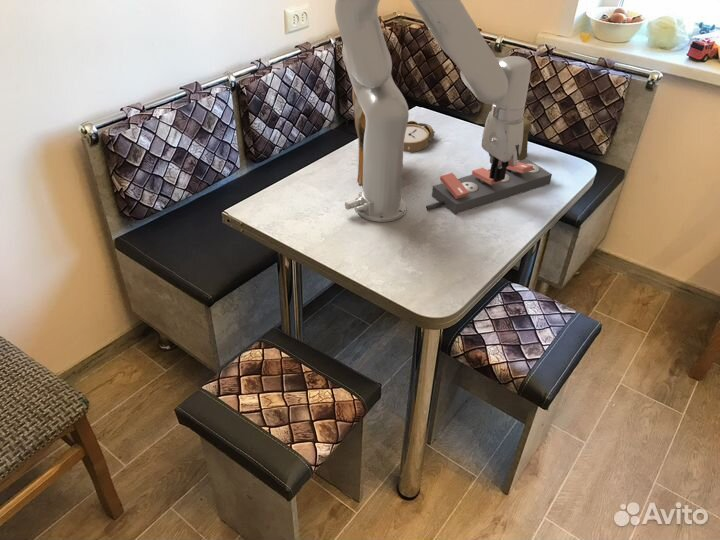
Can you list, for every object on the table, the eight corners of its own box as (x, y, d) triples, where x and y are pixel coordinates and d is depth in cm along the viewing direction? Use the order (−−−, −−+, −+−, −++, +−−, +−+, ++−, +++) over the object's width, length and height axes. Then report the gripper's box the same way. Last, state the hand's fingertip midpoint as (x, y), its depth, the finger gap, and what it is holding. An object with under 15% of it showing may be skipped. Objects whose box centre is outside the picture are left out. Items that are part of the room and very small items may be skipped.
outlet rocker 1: (455, 201, 155) (457, 195, 153) (439, 181, 159) (440, 175, 157) (466, 197, 156) (469, 192, 155) (450, 178, 160) (452, 172, 158)
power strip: (438, 219, 153) (439, 208, 151) (415, 200, 160) (416, 189, 157) (549, 183, 168) (552, 172, 165) (524, 168, 174) (526, 157, 172)
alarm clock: (382, 136, 183) (411, 111, 190) (383, 150, 186) (412, 125, 194) (414, 147, 177) (442, 122, 185) (414, 161, 181) (442, 135, 188)
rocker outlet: (522, 176, 161) (522, 168, 161) (502, 170, 168) (502, 163, 167) (532, 173, 163) (532, 165, 162) (513, 167, 169) (513, 160, 168)
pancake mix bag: (342, 182, 166) (342, 81, 149) (383, 156, 179) (387, 59, 161) (362, 190, 163) (365, 87, 146) (402, 163, 175) (409, 65, 158)
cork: (528, 160, 178) (536, 125, 171) (507, 160, 178) (514, 124, 171) (524, 150, 183) (531, 116, 176) (504, 150, 183) (510, 115, 176)
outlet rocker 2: (490, 187, 158) (491, 180, 157) (471, 177, 163) (472, 170, 162) (501, 184, 159) (502, 176, 158) (482, 174, 165) (483, 167, 164)
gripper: (475, 102, 150) (466, 169, 162) (516, 126, 140) (504, 196, 151) (499, 96, 153) (489, 162, 165) (541, 119, 143) (528, 188, 154)
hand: (496, 178), depth 158 cm, fingers closed
